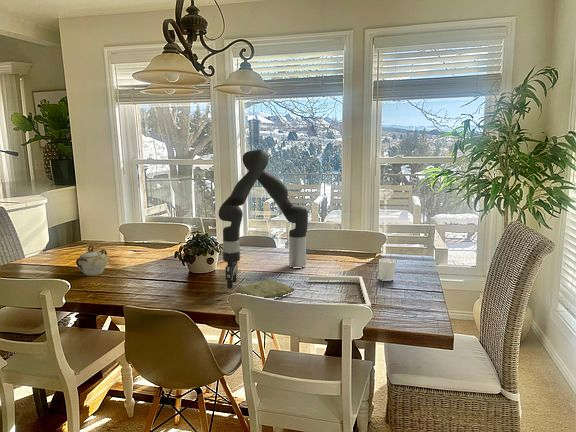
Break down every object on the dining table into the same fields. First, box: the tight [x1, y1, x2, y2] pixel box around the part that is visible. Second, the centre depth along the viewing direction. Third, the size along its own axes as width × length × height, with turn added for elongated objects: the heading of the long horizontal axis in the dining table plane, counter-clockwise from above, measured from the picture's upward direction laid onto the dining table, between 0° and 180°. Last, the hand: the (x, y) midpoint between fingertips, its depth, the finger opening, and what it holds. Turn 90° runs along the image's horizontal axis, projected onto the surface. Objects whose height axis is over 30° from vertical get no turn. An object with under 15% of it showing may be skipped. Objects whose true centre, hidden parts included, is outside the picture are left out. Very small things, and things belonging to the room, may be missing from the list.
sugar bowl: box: [75, 245, 109, 277], centre depth 215 cm, size 20×15×15 cm
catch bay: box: [308, 274, 372, 309], centre depth 183 cm, size 37×26×3 cm
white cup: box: [378, 257, 396, 280], centre depth 203 cm, size 8×8×10 cm
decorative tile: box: [235, 279, 295, 298], centre depth 185 cm, size 19×20×4 cm
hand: (232, 285), depth 186 cm, fingers open, 8 cm apart
